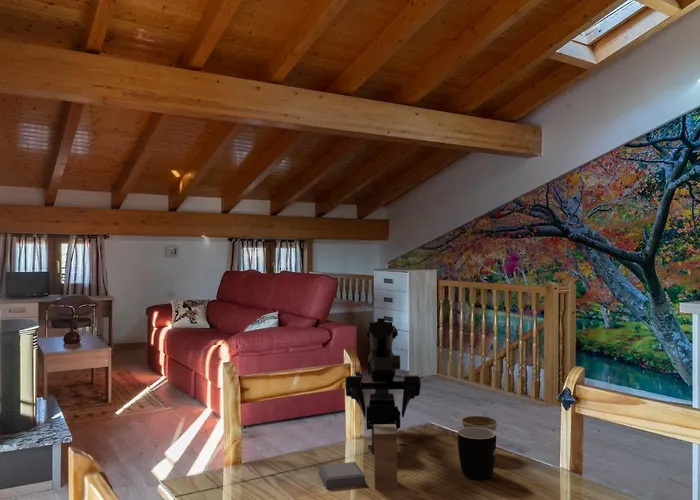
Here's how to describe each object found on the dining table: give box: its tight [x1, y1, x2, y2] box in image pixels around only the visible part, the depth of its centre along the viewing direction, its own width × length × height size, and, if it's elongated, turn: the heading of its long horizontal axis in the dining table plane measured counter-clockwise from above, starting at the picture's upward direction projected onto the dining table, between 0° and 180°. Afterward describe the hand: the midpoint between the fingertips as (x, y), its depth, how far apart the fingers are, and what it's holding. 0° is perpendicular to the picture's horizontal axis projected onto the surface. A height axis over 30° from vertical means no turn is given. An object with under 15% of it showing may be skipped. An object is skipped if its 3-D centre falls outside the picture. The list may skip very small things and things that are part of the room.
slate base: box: [318, 461, 366, 489], centre depth 134 cm, size 9×9×2 cm
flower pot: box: [461, 415, 499, 433], centre depth 150 cm, size 9×9×9 cm
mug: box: [456, 427, 497, 481], centre depth 137 cm, size 12×9×10 cm
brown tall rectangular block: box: [373, 424, 398, 490], centre depth 130 cm, size 5×5×13 cm
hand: (383, 416), depth 138 cm, fingers open, 9 cm apart
